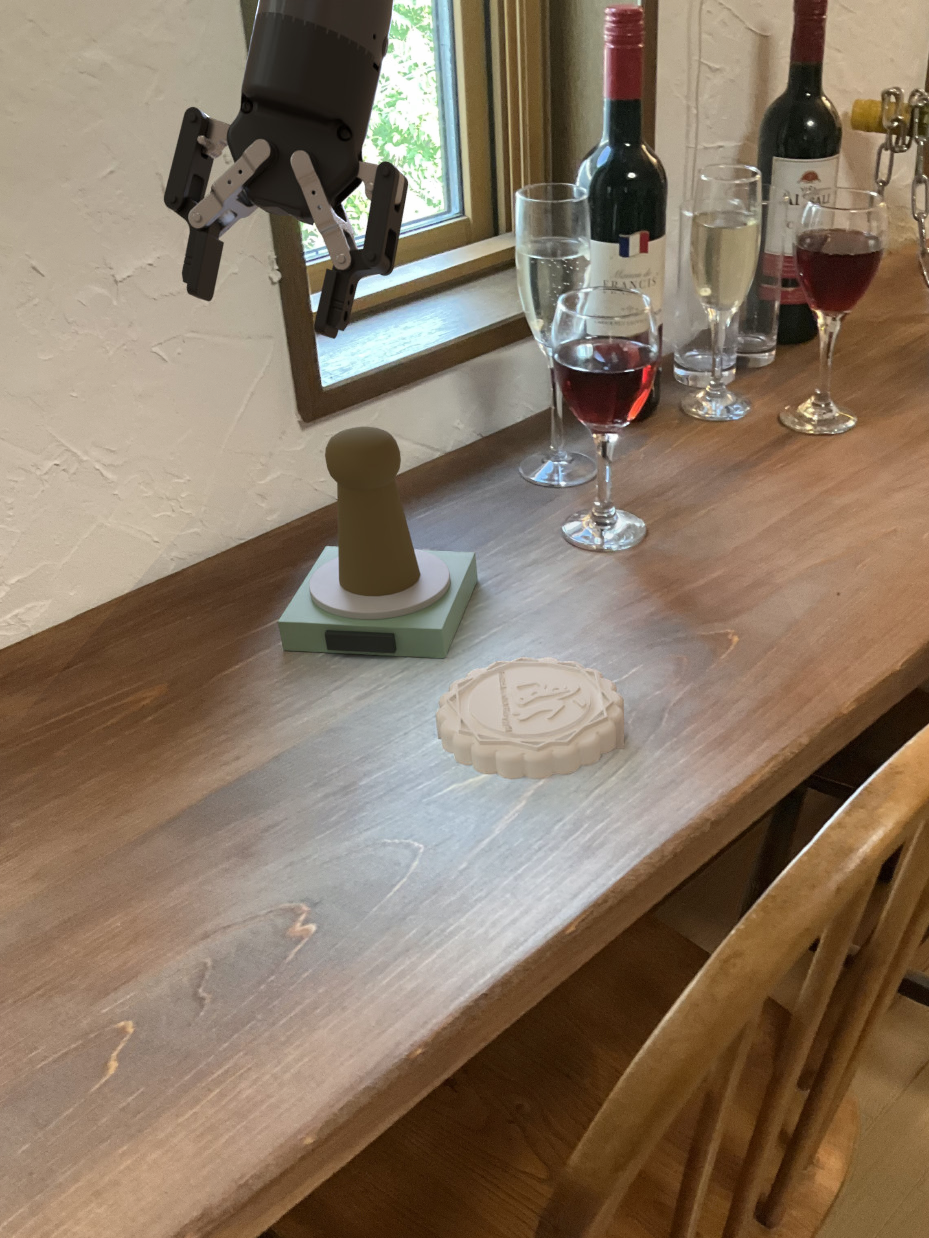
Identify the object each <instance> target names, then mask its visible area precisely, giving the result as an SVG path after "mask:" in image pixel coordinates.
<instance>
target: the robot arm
mask: <svg viewBox="0 0 929 1238" xmlns="http://www.w3.org/2000/svg"><path fill="white" fill-rule="evenodd" d="M394 3H395V0H258V2H257V8H256V12H255V18H254V22H253V27H252V31H251V37H250V42H249V48H248V52H247V58H246V62H245V67H244V73H243V77H242V82H241V88H240V107H239V110H238V113H237V115H236V117H235V118H234V119H233V121H232V122H231V123H226V122H225V121H221V120H218V119H216V118H213V117H210V116H209V115H207V114H206V113H205V112H203V110H201V109H199V108H198V107H196V106H190V107H188V108H186V110H185V111H184V113H183V117H182V121H181V125H180V129H179V134H178V136H177V137H178V138H177V142H176V146H175V150H174V154H173V157H172V161H171V165H170V170H169V173H168V177H167V182H166V186H165V190H164V194H163V202H164V205H165V206H166V208H168V209H169V210H171V211H173V212H174V213H175V214H177V215H178V216H179V217H180V218H181V219H183V220H184V221H185V222H186V223H187V226H188V229H189V233H188V238H187V244H186V249H185V254H184V258H183V264H182V269H181V278H182V283H184V284H186V293H187V295H190V296H192V297H194V298H197V299H199V300H203V301H207V302H211V301H212V300H213V298H214V294H215V289H216V285H217V280H218V275H219V270H220V265H221V260H222V256H223V251H224V245H225V241H222V240H220V238H221V237H223V235H225V233H227V231H229V230H230V229H231V228H232V227H233V226H234V225H235V224H236V223H237V222H239V221H240V220H241V219H246V218H247V217H250V216H251V215H252V214H253V213H255V211H257V209H258V208H259V209H260V210H263V211H264V212H265V213H267V214H272V215H274V216H278V217H279V216H281V217H282V216H291V217H292V218H294V219H295V220H297V221H298V222H301V224H307V225H310V226H314V225H315V227H316V230H317V231H318V232H319V234H320V236H321V237H322V240H323V243H324V245H325V247H326V250H327V253H328V254H329V258H330V260H331V263H332V267H331V269H329V268H326V269H325V273H324V277H323V283H322V287H321V292H320V295H319V301H318V305H317V308H316V309H317V310H316V314H315V318H314V323H313V329H314V332H315V333H316V334H318V335H321V336H323V337H326V338H329V339H332V340H333V339H334V340H335V339H336V338H337V336H338V334H339V331H341V332H345V330H346V328H347V327H348V326H349V323H350V319H351V314H352V311H353V305H354V302H355V297H356V293H357V287H358V285H359V282H360V281H361V279H363V278H364V277H367V276H377V275H380V276H382V277H387V276H390V275H391V274H392V273H393V272H394V270H395V263H396V257H397V253H398V252H397V251H398V247H399V241H400V235H401V230H402V225H403V218H404V212H405V206H406V201H407V196H408V189H409V179H408V178H407V176H406V175H404V173H403V172H402V170H400V169H399V168H398V167H397V166H396V165H394V163H392V162H390V161H385V160H384V161H382V162H380V163H379V164H376V163H371V162H367V161H364V159H363V147H364V144H365V141H366V139H367V135H368V131H369V127H370V122H371V118H372V114H373V113H372V112H373V108H374V104H375V99H376V94H377V90H378V87H379V82H380V77H381V73H382V67H383V63H384V60H385V58H386V56H387V53H388V49H389V45H390V40H389V37H390V33H391V27H392V22H393V14H394ZM226 147H228V149H229V152H230V155H231V158H232V160H233V164H232V165H231V166H230V167H229V168H228V169H227V170H226V171H224V172H223V173H222V174H221V175H220V176H219V177H218V178H217V179H216V180H215V181H213V183H212V184H211V186H210V191H209V193H207V188H208V184H209V180H210V177H211V172H212V169H213V165H214V161H215V159H218V158H219V157H220V156H222V155H223V151H224V149H225V148H226ZM362 183H363V184H364V194H365V197H366V198H367V199H368V200H369V201H370V205H369V210H368V216H367V223H366V229H365V234H364V240H363V244H362V245H363V246H362V248H359V247H358V244H357V241H356V239H355V237H356V236H355V231H354V229H353V226H352V223H351V220H350V218H349V215H348V213H347V210H346V208H345V205H344V201H345V200H346V199H347V198H348V197H350V196H351V195H352V194H353V192H355V191H356V190H357V189H358V188H359V187H360V186H361V185H362ZM206 193H207V194H206Z"/></svg>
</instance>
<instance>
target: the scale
mask: <svg viewBox="0 0 929 1238" xmlns="http://www.w3.org/2000/svg"><path fill="white" fill-rule="evenodd" d="M414 551H415V555H416V559H417V563H418V567H419V570H420V574H421V575H420V577H419V580H418V581H417V582H416V583H415V584H414V585H413V586H412V587H410V588H408V589H406V590H404V591H401V592H398V593H395V594H391V595H384V596H362V595H357V594H353V593H351V592H348V591H346V590H344V589H343V587H342V586H341V585H340V583H339V559H338V546H329V545H326V546H325V547H324V549H323V550H322V552H321V553H320V555H319V556H318V557H317V559H316V561H315V563H314V564H313V566H312V567H311V568H310V570H309V571H308V573H307V575H306V576H305V578H304V580H302V582H301V584H300V586H299V588H298V589H297V591H296V592H295V594H294V595H293V597H292V598H291V600H290V601H289V603H288V605H287V606H286V608H285V610H284V611H283V612H282V614H281V616H280V617H279V619H278V620H277V625H278V630H279V636H280V641H281V645H282V650H283V651H288V652H289V651H290V652H291V651H292V652H310V653H328V654H329V653H330V654H347V655H348V654H349V655H351V654H352V655H371V656H391V657H409V658H410V657H411V658H431V659H446V657H447V655H448V653H449V650H450V647H451V644H452V643H453V640H454V638H455V635H456V633H457V630H458V628H459V625H460V623H461V621H462V618H463V616H464V614H465V611H466V609H467V607H468V604H469V602H470V599H471V596H472V594H473V592H474V590H475V587H476V586H477V585H476V584H477V582H478V581H479V580H478V579H479V577H478V567H477V557H476V555H477V554H476V552H474V551H453V550H452V551H451V550H450V551H449V550H431V549H430V550H429V549H427V550H426V549H417V548H414Z"/></svg>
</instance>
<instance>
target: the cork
mask: <svg viewBox="0 0 929 1238" xmlns="http://www.w3.org/2000/svg"><path fill="white" fill-rule="evenodd" d="M324 457H325V458H324V459H325V464H326V469H327V471H328V474H329V477H331V478H332V479H333V480H334V482H336V492H337V493H336V494H337V502H336V503H337V547H338V559H339V583H340V585H341V586H342V587H343V589H344V590H346V591H348V592H351V593H353V594H357V595H362V596H384V595H391V594H395V593H398V592H401V591H404V590H406V589H408V588H410V587H412V586H413V585H414V584H415V583H416V582H417V581H418V580H419V577H420V575H421V574H420V570H419V567H418V563H417V559H416V555H415V551H414V549H415V548H414V545H413V540H412V536H411V533H410V528H409V524H408V521H407V518H406V514H405V510H404V506H403V502H402V499H401V494H400V491H399V487H398V484H397V480H396V477H397V475H398V473H399V472H400V470H401V462H402V458H401V457H402V456H401V450H400V447H399V445H398V441H397V440H396V438H395V437H394V436H393V435H392V434H391V433H390V432H388V431H387V430H385V429H381V428H379V427H374V426H355V427H349V428H345V429H343V430H341V431H338V432H337V433H335V434H334V435H332V436H331V437H330V438H329V440H328V442H327V444H326V447H325V451H324Z"/></svg>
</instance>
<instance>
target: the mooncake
mask: <svg viewBox="0 0 929 1238" xmlns="http://www.w3.org/2000/svg"><path fill="white" fill-rule="evenodd" d="M438 707H439V708H438V709H437V711H436V712H435V723H436V731H437V739H438V740H441V746H442V749H443V750H444V751H445V752H447V753H449V754H453V757H454V760H455V762H456V763H458V764H460V765H464V766H472V768H473V769H474V771H475V772H477V773H479V774H481V775H494V774H497V775H498V776H499V777H501V778H503V779H507V780H517V779H522V778H524V777H526V778H529V779H532V780H543V779H546V778H549V777H551V776H552V775H554V774H555V775H568V774H572V773H574V772H576V771H578V769H579V768H580V767H581V766H582V767H583V766H584V767H585V766H590V765H594V764H596V763H598V762H599V760H601V756H602V754H607V753H609V752H611V751H613V750H624V747H625V699H624V697H623V696H622V695H621V694H620V693H619V692H618V688H617V685H616V684H615V682H613V680H610V679H608V678H604V676H603V674H602V673H601V672H600V671H599V670H597V669H595V668H590V667H584V666H583V665H582V664H581V663H580V662H577V661H575V660H565V661H560V660H559V659H557V658H555V657H551V656H546V657H541V658H538V659H537V658H533V657H527V656H521V657H517V658H515V659H513V660H511V661H510V660H509V661H508V660H507V661H506V660H498V661H497V660H496V661H494V662H492V663H490V664H488V666H486V667H479V668H475V669H472V670H471V671H469V672H468V673H467V674H466V675H465V678H464V677H463V678H459V679H456V680H454V681H453V682H452V683H451V684H450V685H449V688H448V691H446V692H444V693H443V694H442V695H441V696H440V697H439V700H438Z"/></svg>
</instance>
